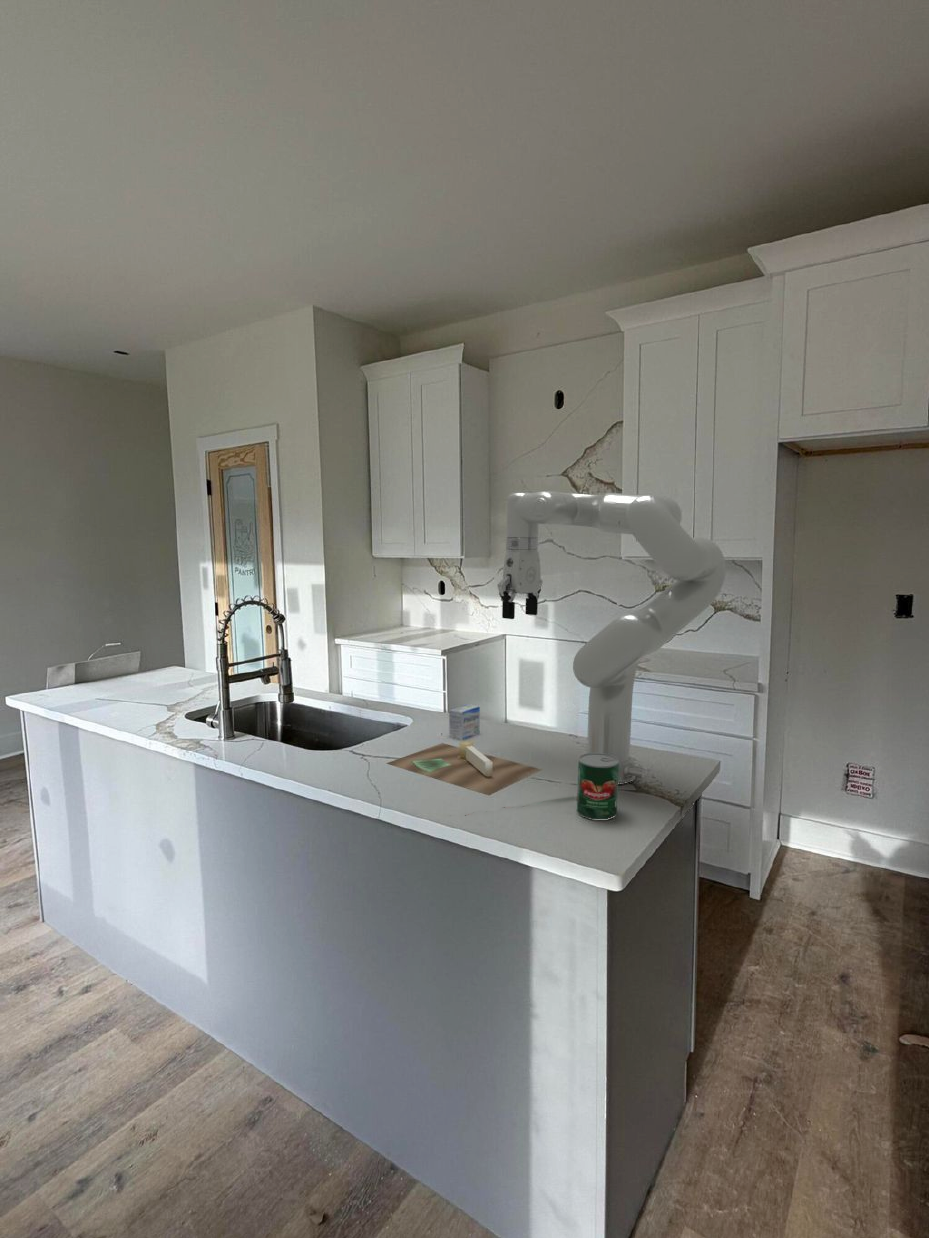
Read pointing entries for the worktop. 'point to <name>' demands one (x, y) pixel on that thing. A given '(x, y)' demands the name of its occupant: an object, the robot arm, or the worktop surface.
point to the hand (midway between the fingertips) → (520, 616)
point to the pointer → (475, 758)
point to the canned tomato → (597, 785)
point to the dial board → (463, 769)
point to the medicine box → (464, 722)
